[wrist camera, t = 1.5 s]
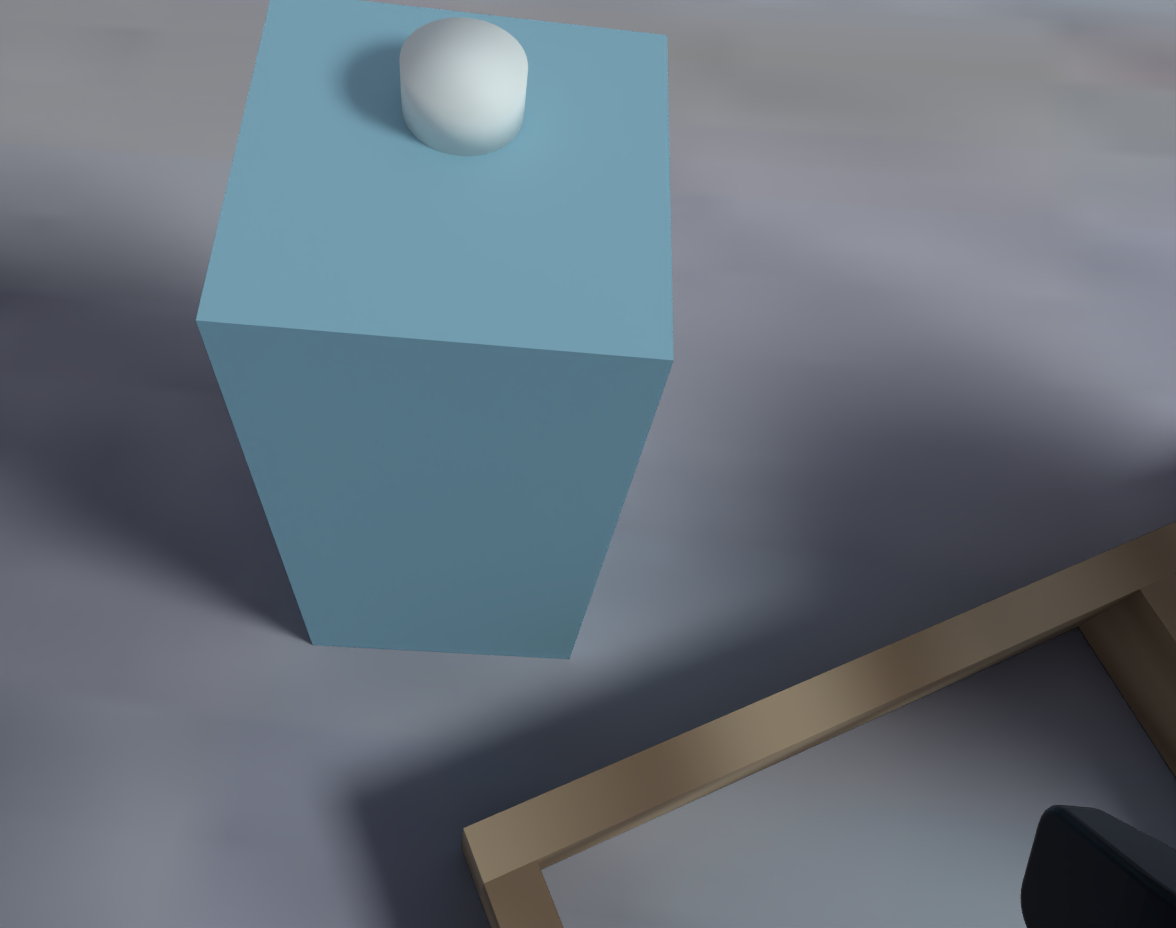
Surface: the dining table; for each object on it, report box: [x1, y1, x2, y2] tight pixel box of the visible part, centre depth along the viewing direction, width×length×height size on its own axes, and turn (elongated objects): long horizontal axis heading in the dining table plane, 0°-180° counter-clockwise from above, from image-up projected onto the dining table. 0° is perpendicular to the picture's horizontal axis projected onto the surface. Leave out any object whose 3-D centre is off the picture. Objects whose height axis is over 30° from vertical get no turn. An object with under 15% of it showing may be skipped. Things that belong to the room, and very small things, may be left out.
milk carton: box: [196, 0, 674, 659], centre depth 18 cm, size 6×6×13 cm
